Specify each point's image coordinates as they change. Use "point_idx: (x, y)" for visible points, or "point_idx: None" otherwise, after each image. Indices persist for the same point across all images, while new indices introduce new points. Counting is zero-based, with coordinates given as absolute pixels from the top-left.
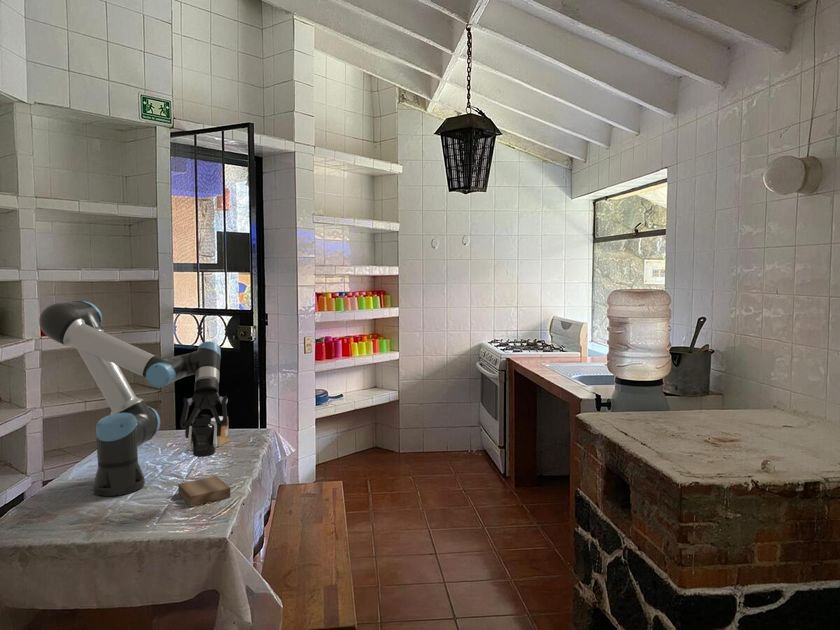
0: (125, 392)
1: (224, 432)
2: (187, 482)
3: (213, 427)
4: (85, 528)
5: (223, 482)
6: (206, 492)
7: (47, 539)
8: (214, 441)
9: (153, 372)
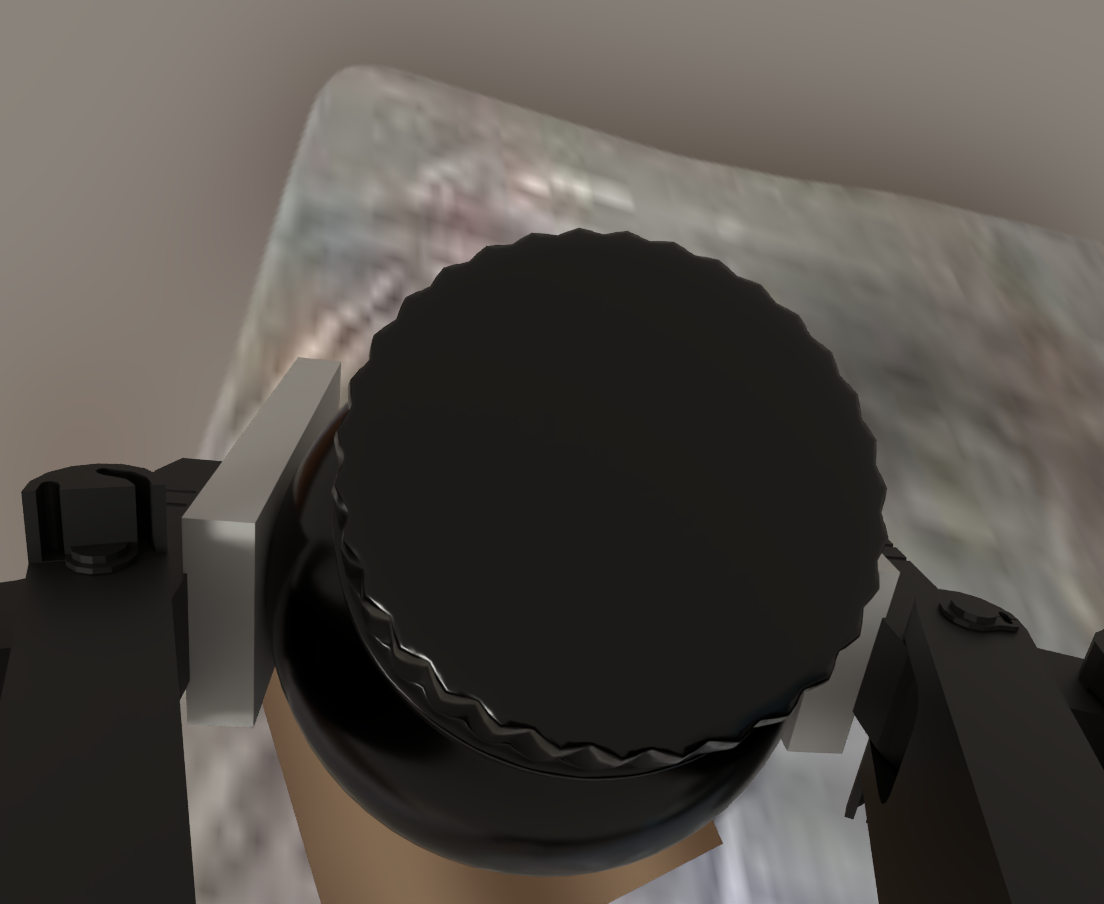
0: None
1: None
2: (643, 871)
3: (296, 476)
4: (1085, 371)
5: (286, 772)
6: None
7: None
8: (318, 365)
9: None
